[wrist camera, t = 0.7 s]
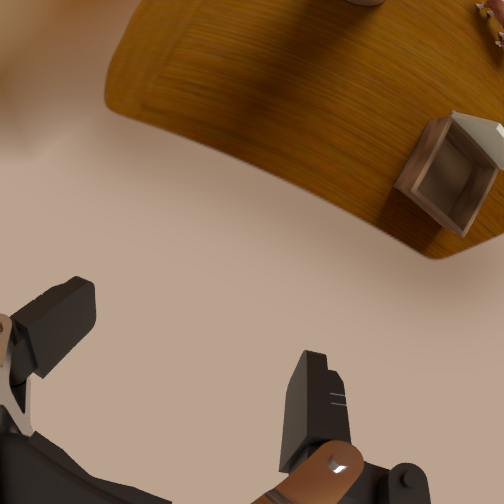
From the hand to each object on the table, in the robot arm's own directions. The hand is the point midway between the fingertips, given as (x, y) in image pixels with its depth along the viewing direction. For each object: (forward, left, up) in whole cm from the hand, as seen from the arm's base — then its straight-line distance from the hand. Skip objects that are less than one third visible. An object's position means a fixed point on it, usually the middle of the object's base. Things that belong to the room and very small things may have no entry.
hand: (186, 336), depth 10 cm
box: (-17, +18, -29) cm, 38 cm away
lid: (-21, +18, -18) cm, 33 cm away
